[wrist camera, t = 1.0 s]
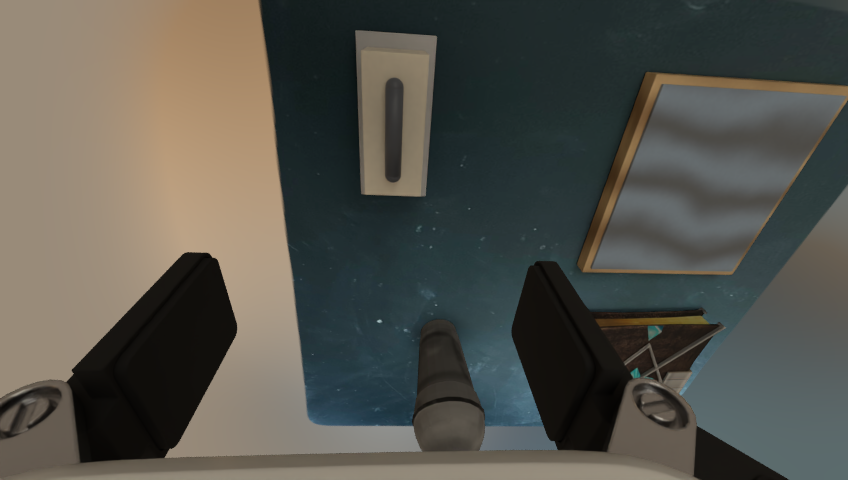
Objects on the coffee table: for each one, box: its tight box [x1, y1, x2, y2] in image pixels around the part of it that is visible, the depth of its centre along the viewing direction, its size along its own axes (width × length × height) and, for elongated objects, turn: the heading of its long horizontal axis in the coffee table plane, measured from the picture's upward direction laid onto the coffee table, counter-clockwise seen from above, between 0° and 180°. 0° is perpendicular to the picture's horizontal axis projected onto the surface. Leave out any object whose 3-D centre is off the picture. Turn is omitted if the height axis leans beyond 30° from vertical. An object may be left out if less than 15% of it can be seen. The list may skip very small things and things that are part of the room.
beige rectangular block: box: [355, 30, 437, 196], centre depth 27 cm, size 13×6×7 cm, turn 176°
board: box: [577, 72, 848, 275], centre depth 34 cm, size 20×18×2 cm
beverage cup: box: [412, 320, 485, 452], centre depth 36 cm, size 7×7×20 cm
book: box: [590, 307, 725, 394], centre depth 47 cm, size 22×17×5 cm
